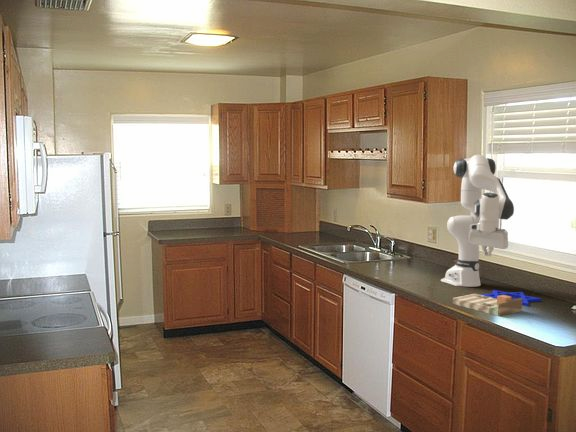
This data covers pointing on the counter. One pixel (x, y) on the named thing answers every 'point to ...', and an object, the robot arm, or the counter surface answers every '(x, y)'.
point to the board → (488, 304)
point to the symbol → (514, 294)
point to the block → (503, 299)
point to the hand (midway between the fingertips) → (487, 255)
